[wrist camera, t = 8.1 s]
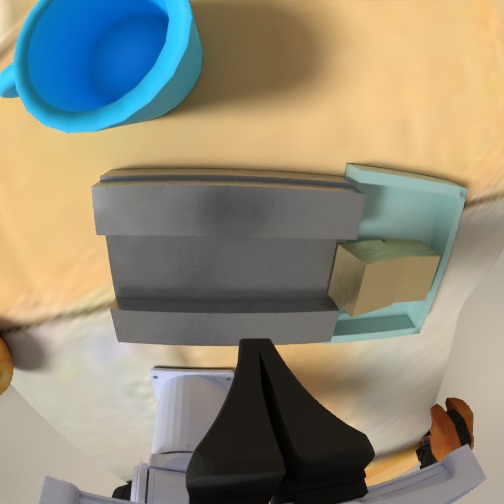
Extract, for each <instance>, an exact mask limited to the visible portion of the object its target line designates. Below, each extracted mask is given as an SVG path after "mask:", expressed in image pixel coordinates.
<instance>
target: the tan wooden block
mask: <svg viewBox="0 0 504 504" xmlns="http://www.w3.org/2000/svg"><path fill="white" fill-rule="evenodd" d="M382 241H383V242H384V243H386V244H388V245H389V246H391V247H392V248H394V249H396V250H397V251H399V252H400V253H402V254H403V255H405V256H407V259H406V262H405V266H404V269H403V272H402V276H401V279H400V282H399V285H398V288H397V291H396V294H395V297H394V300H393V303H399V302H412V301H424V300H425V299H426V297H427V294H428V291H429V289H430V286H431V283H432V280H433V277H434V275H435V272H436V269H437V266H438V263H439V260H440V256H439V255H438V254H437V253H436V252H434V251H433V250H432V249H431V248H429V247H428V246H427V245H426V244H425V243H423V242H422V241H421V240H402V239H382Z"/></svg>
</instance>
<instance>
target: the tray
mask: <svg viewBox="0 0 504 504" xmlns="http://www.w3.org/2000/svg"><path fill="white" fill-rule="evenodd" d="M345 177H346V178H347V179H349V180H351V181H352V182H354V183H355V184H356V188H357V189H358V190H360V191H361V192H363V193H364V194H365V200H364V205H363V211H362V216H361V221H360V226H359V231H358V236H357V240H346V243H354V242H362V241H370V240H378V239H379V240H381V241H382V239H402V240H421V241H422V242H423V243H425V244H426V245H427V246H428V247H429V248H431V249H432V250H433V251H434V252H436V253H437V254H438V255H439V256H440V260H439V263H438V266H437V269H436V272H435V275H434V277H433V280H432V283H431V286H430V289H429V291H428V294H427V297H426V299H425V300H424V301H412V302H399V303H392V305H391V306H388V307H385V308H381V309H378V310H375V311H372V312H369V313H366V314H362V315H359V316H356V317H351V316H350V315H349V314H348V313H347V312H346V311H345V310H343V309H342V308H341V307H340V306H339V305H338V304H337V303H336V302H335V303H336V305H337V307H338V309H339V310H340V311H339V315H338V319H337V322H336V326H335V329H334V333H333V336H332V339H331V342H323V344H331V343H343V342H354V341H363V340H373V339H381V338H389V337H397V336H404V335H411V334H418V333H420V331H421V329H422V326H423V324H424V322H425V320H426V317H427V315H428V313H429V310H430V308H431V305H432V303H433V300H434V298H435V295H436V293H437V290H438V287H439V285H440V282H441V279H442V277H443V274H444V271H445V268H446V265H447V262H448V259H449V256H450V253H451V250H452V247H453V243H454V240H455V237H456V233H457V230H458V226H459V222H460V219H461V215H462V211H463V207H464V203H465V198H466V194H467V189H468V188H465V187H463V186H461V185H459V184H457V183H455V182H452V181H450V180H446V179H441V178H436V177H431V176H426V175H421V174H415V173H410V172H404V171H398V170H392V169H386V168H379V167H372V166H365V165H358V164H350V163H347V164H346V172H345Z"/></svg>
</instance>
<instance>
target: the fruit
mask: <svg viewBox="0 0 504 504" xmlns="http://www.w3.org/2000/svg"><path fill="white" fill-rule="evenodd" d="M12 376H13V361H12V357H11V354H10V352H9V350H8V348H7V346H6V344H5V342H4V341H3V339H2V338H1V337H0V395H1V394H2V393H3V392H4V391H5V390H6V389H7V388H8V386H9V385H10V382H11V380H12Z"/></svg>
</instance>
